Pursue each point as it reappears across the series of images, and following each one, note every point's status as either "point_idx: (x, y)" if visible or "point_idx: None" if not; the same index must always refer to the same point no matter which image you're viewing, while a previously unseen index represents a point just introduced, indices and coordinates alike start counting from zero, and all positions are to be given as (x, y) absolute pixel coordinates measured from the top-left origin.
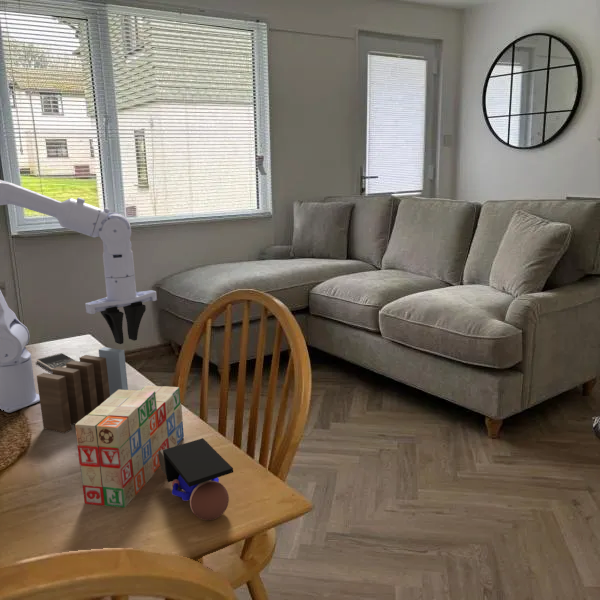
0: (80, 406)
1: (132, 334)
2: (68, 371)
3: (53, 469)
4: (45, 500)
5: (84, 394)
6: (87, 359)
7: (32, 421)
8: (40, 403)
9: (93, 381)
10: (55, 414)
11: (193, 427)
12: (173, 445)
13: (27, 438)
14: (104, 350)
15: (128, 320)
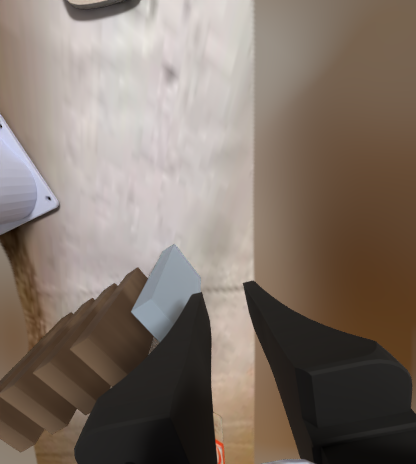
0: None
1: (253, 320)
2: (41, 423)
3: (76, 414)
4: (69, 454)
5: None
6: (92, 365)
7: (42, 286)
8: (27, 353)
9: None
10: None
11: (241, 402)
12: None
13: (40, 336)
14: (146, 327)
15: (268, 336)
